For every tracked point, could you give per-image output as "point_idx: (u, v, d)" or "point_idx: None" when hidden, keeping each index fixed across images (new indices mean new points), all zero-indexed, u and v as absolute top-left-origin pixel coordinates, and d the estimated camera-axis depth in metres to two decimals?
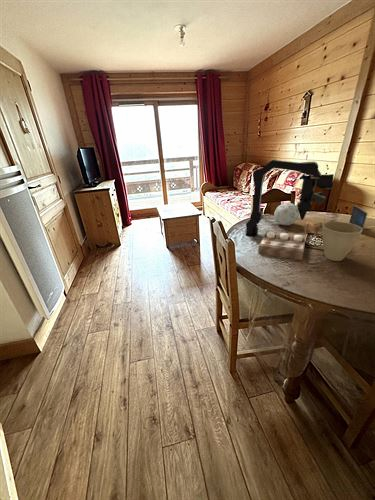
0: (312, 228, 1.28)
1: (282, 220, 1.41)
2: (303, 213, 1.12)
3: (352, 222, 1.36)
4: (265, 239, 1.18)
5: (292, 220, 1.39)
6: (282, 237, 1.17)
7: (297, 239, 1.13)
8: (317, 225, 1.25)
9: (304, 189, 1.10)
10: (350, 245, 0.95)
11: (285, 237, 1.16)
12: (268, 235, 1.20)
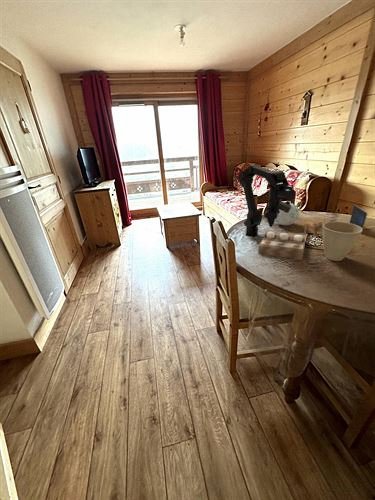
0: (312, 228, 1.28)
1: (282, 220, 1.41)
2: (271, 221, 1.14)
3: (352, 222, 1.36)
4: (265, 239, 1.18)
5: (292, 220, 1.39)
6: (282, 237, 1.17)
7: (297, 239, 1.13)
8: (317, 225, 1.25)
9: (270, 198, 1.11)
10: (350, 245, 0.95)
11: (285, 237, 1.16)
12: (268, 235, 1.20)
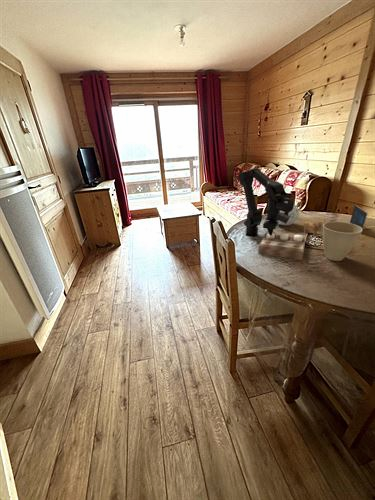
0: (311, 228, 1.28)
1: None
2: (271, 229, 1.19)
3: (352, 222, 1.36)
4: (265, 239, 1.18)
5: (292, 220, 1.39)
6: (282, 237, 1.17)
7: (297, 239, 1.13)
8: (316, 225, 1.25)
9: (269, 209, 1.13)
10: (350, 245, 0.95)
11: (285, 237, 1.16)
12: (268, 237, 1.21)
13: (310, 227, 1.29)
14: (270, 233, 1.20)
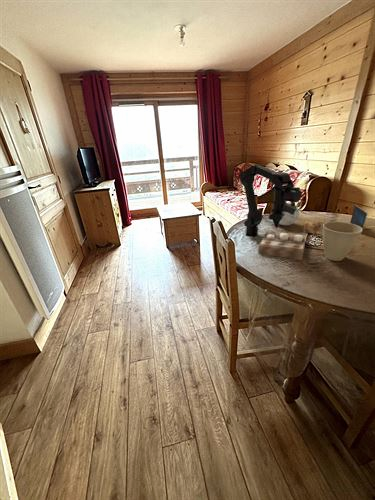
0: (311, 228, 1.29)
1: (282, 220, 1.41)
2: (277, 221, 1.15)
3: (353, 222, 1.36)
4: (265, 239, 1.18)
5: (292, 220, 1.39)
6: (282, 237, 1.17)
7: (297, 239, 1.13)
8: (316, 225, 1.25)
9: (275, 200, 1.10)
10: (350, 245, 0.95)
11: (285, 237, 1.16)
12: None
13: (310, 227, 1.29)
14: (276, 225, 1.17)
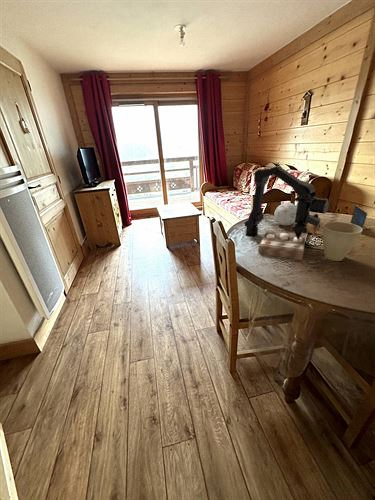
0: (310, 227, 1.29)
1: (282, 220, 1.41)
2: (299, 233, 1.12)
3: (353, 222, 1.36)
4: (265, 239, 1.18)
5: (292, 220, 1.39)
6: (282, 237, 1.17)
7: (297, 241, 1.14)
8: None
9: (299, 211, 1.07)
10: (350, 245, 0.95)
11: (285, 237, 1.16)
12: None
13: (309, 227, 1.29)
14: (298, 236, 1.14)
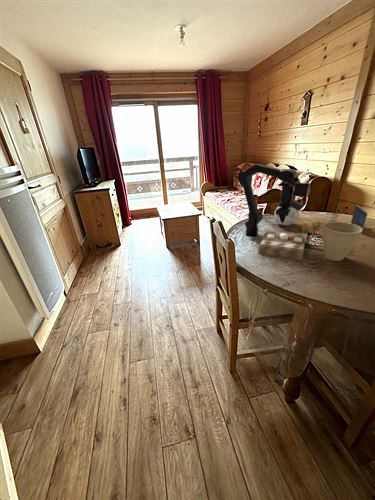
0: (310, 227, 1.29)
1: None
2: (283, 217, 1.18)
3: (353, 222, 1.36)
4: (265, 239, 1.18)
5: (292, 220, 1.39)
6: (282, 237, 1.17)
7: None
8: (315, 224, 1.26)
9: (283, 196, 1.13)
10: (350, 245, 0.95)
11: (285, 237, 1.16)
12: None
13: (309, 227, 1.30)
14: (282, 220, 1.20)
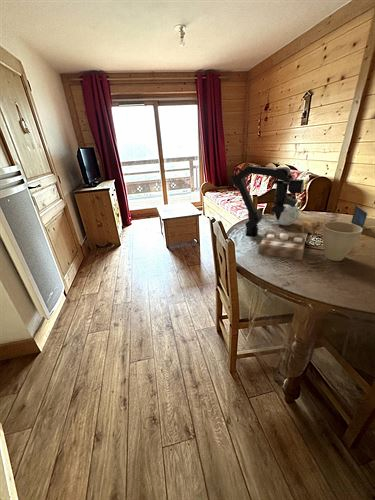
0: (309, 227, 1.29)
1: (282, 220, 1.41)
2: (278, 214, 1.21)
3: (354, 222, 1.36)
4: (265, 239, 1.18)
5: (292, 220, 1.39)
6: (282, 237, 1.17)
7: None
8: (314, 224, 1.26)
9: (277, 193, 1.16)
10: (350, 245, 0.95)
11: (285, 237, 1.16)
12: None
13: (308, 226, 1.30)
14: (278, 217, 1.22)
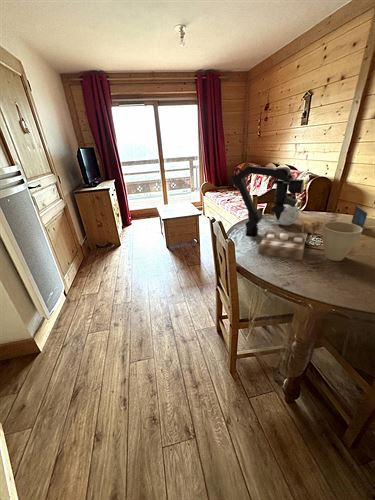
0: (309, 227, 1.29)
1: (282, 220, 1.41)
2: (278, 214, 1.21)
3: (354, 222, 1.36)
4: (265, 239, 1.18)
5: (292, 220, 1.39)
6: (282, 237, 1.17)
7: None
8: (314, 224, 1.26)
9: (277, 193, 1.16)
10: (350, 245, 0.95)
11: (285, 237, 1.16)
12: None
13: (308, 226, 1.30)
14: (278, 217, 1.22)
